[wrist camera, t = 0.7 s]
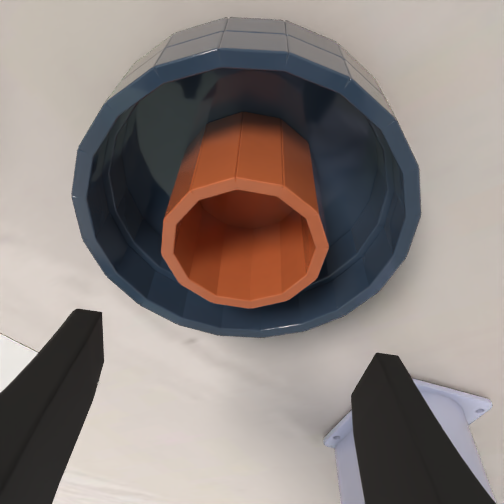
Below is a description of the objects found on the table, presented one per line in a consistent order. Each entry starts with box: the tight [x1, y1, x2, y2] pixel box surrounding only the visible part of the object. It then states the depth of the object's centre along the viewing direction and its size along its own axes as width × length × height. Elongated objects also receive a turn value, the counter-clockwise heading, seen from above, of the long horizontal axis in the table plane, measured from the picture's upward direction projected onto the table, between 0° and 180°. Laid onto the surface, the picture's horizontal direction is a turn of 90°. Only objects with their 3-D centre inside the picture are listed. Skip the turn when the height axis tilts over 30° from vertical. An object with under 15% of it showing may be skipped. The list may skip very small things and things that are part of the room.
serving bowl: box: [71, 17, 421, 338], centre depth 18 cm, size 12×12×4 cm
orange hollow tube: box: [161, 112, 329, 309], centre depth 17 cm, size 6×6×5 cm
